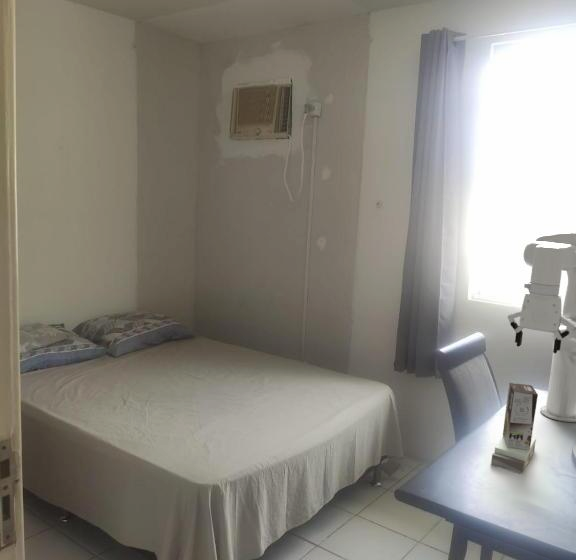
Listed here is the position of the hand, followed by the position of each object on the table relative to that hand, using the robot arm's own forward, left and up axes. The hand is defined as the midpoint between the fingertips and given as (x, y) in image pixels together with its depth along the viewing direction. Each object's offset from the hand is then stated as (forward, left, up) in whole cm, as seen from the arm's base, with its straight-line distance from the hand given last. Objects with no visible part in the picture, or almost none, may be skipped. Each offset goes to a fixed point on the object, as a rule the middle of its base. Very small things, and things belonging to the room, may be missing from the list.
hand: (536, 348), depth 160 cm
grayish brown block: (+7, -1, -31) cm, 32 cm away
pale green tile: (+5, -1, -28) cm, 29 cm away
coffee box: (+5, -1, -27) cm, 27 cm away
